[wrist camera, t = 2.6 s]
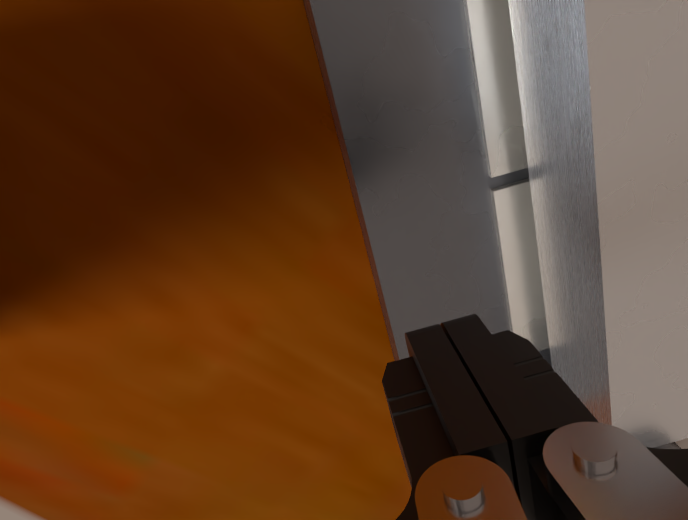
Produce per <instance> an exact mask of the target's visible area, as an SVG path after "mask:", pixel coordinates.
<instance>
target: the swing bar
mask: <svg viewBox="0 0 688 520" xmlns="http://www.w3.org/2000/svg"><path fill="white" fill-rule="evenodd" d="M508 2H509V11H510V19H511V28H512V36H513V44H514V53H515V61H516V70H517V78H518V86H519V95H520V103H521V112H522V120H523V129H524V137H525V145H526V154H527V162H528V171H529V179H530V188H531V196H532V204H533V213H534V221H535V230H536V238H537V247H538V255H539V263H540V272H541V280H542V289H543V297H544V306H545V314H546V322H547V331H548V339H549V348H550V356H551V365H552V368H553V369H554V372H557V374H558V375H559V376H560V377H561V378H562V379H563V381H564V382H565V383H566V384H567V385H568V386H569V388H570V389H571V390H572V391H573V392H574V394H575V395H576V396H577V397H578V398H579V399H580V401H581V402H582V403H583V404H584V405H585V406H586V408H587V409H588V410H589V411H590V412H591V414H592V415H593V416H594V417H595V418H596V419H597V421H598V422H600V423H605V424H609V425H612V426H615V427H618V428H620V429H622V430H625V431H626V432H628V433H629V434H631V435H633V436H634V437H635V438H636V439H638V440H639V441H640V442H641V443H642V444H643V445H644V446H645V447H650V448H655V447H658V446H662V445H665V444H669V443H672V442H675V441H679V440H682V439H686V438H688V0H508Z"/></svg>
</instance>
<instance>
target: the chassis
mask: <svg viewBox="0 0 688 520" xmlns="http://www.w3.org/2000/svg"><path fill="white" fill-rule="evenodd" d="M303 2H304V6H305V10H306V14H307V18H308V22H309V26H310V30H311V33H312V37H313V41H314V45H315V49H316V53H317V57H318V61H319V65H320V69H321V73H322V77H323V81H324V84H325V88H326V92H327V96H328V100H329V104H330V108H331V112H332V116H333V120H334V124H335V128H336V131H337V135H338V139H339V143H340V147H341V151H342V155H343V159H344V163H345V167H346V171H347V175H348V179H349V182H350V186H351V190H352V194H353V198H354V202H355V206H356V210H357V214H358V218H359V222H360V226H361V230H362V233H363V237H364V241H365V245H366V249H367V253H368V257H369V261H370V265H371V269H372V273H373V277H374V281H375V284H376V288H377V292H378V296H379V300H380V304H381V308H382V312H383V316H384V320H385V324H386V328H387V332H388V335H389V339H390V343H391V347H392V351H393V355H394V359H395V361H397V360H401V359H404V358H408V357H409V353H408V349H407V345H406V340H405V333H406V332H410V331H414V330H417V329H421V328H425V327H428V326H432V325H436V324H441V323H442V322H446V321H450V320H453V319H457V318H461V317H464V316H468V315H472V314H476V315H478V317H479V318H480V319H481V321H482V322H483V323H484V325H485V326H486V328H487V329H488V330H489V332H490V333H491V334H495V333H499V332H502V331H506V330H509V331H511V332H513V333H515V334H517V335H519V336H521V337H523V338H525V339H527V340H529V341H530V342H531V343H532V344H533V345H534V347H535V348H536V349H537V350H538V351H539V352H540V354H541V355H542V356H543V359H546V361H547V362H548V363H549V364H550V365H551V356H550V348H549V339H548V331H547V322H546V314H545V306H544V297H543V289H542V280H541V272H540V263H539V255H538V247H537V238H536V230H535V221H534V213H533V204H532V196H531V188H530V179H529V171H528V162H527V154H526V145H525V137H524V129H523V120H522V112H521V103H520V95H519V86H518V78H517V70H516V61H515V53H514V44H513V36H512V28H511V19H510V11H509V2H508V0H303ZM551 367H552V365H551ZM655 448H657V449H681V448H680V447H679V446H678V445H677V444H676V443H675V442H672V443H669V444H665V445H662V446H658V447H655Z"/></svg>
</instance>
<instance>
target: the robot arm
mask: <svg viewBox="0 0 688 520" xmlns="http://www.w3.org/2000/svg"><path fill="white" fill-rule="evenodd" d="M405 340H406V345H407V349H408V353H409V357H408V358H404V359H401V360H397V361H394V362H390V363H387V366H386V369H385V373H384V376H383V379H382V383H383V387H384V391H385V395H386V398H387V402H388V406H389V410H390V414H391V418H392V421H393V425H394V429H395V433H396V437H397V440H398V444H399V447H400V450H401V454H402V457H403V460H404V464H405V467H406V470H407V474H408V477H409V480H410V484H411V487H412V491H411V496H410V499H409V501H408V504H407V505H406V507H405V509H404V511H403V512H402V513H401V514H400V516H399V517H398V518H397V519H396V520H688V449H657V448H650V447H645V446H644V445H643V444H642V443H641V442H640V441H639V440H638V439H636V438H635V437H634V436H633V435H631V434H629V433H628V432H626V431H625V430H622V429H620V428H618V427H615V426H612V425H609V424H605V423H600V422H598V421H597V419H596V418H595V417H594V416H593V415H592V414H591V412H590V411H589V410H588V409H587V408H586V406H585V405H584V404H583V403H582V402H581V401H580V399H579V398H578V397H577V396H576V395H575V394H574V392H573V391H572V390H571V389H570V388H569V386H568V385H567V384H566V383H565V382H564V381H563V379H562V378H561V377H560V376H559V375H558V374H557V372H554V369H553V368H552V367H551V365H550V364H549V363H548V362H547V361H546V359H543V356H542V355H541V354H540V352H539V351H538V350H537V349H536V348H535V347H534V345H533V344H532V343H531V342H530V341H529V340H527V339H525V338H523V337H521V336H519V335H517V334H515V333H513V332H511V331H509V330H506V331H502V332H499V333H495V334H491V333H490V332H489V330H488V329H487V328H486V326H485V325H484V323H483V322H482V321H481V319H480V318H479V317H478V315H476V314H472V315H468V316H464V317H461V318H457V319H453V320H450V321H446V322H442V323H441V324H436V325H432V326H428V327H425V328H421V329H417V330H414V331H410V332H406V333H405Z"/></svg>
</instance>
